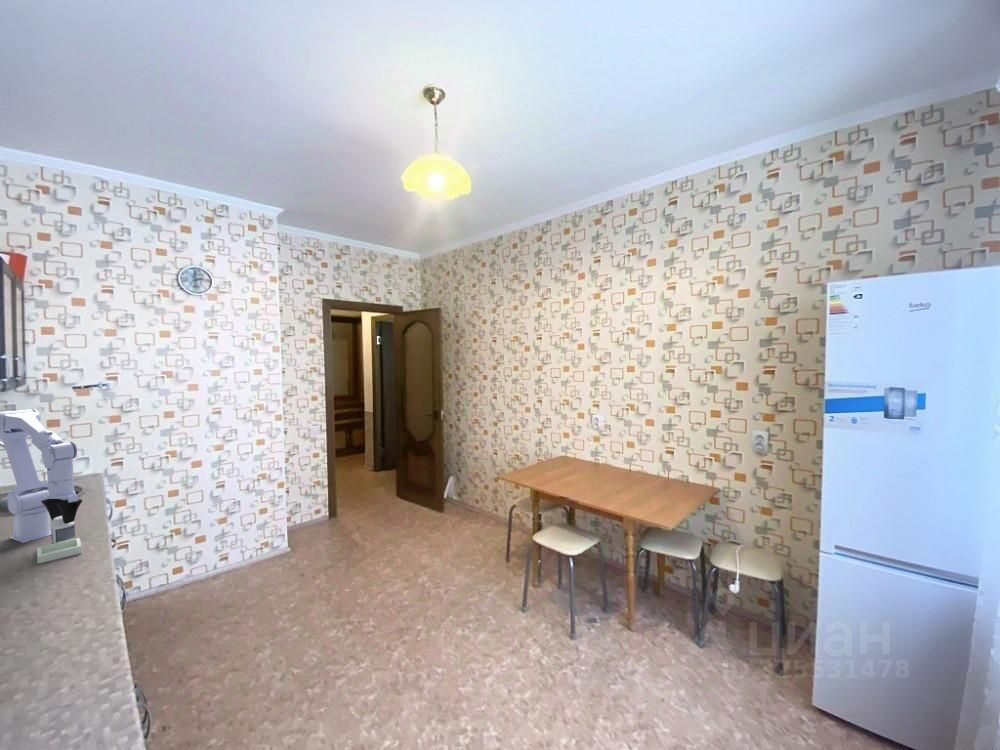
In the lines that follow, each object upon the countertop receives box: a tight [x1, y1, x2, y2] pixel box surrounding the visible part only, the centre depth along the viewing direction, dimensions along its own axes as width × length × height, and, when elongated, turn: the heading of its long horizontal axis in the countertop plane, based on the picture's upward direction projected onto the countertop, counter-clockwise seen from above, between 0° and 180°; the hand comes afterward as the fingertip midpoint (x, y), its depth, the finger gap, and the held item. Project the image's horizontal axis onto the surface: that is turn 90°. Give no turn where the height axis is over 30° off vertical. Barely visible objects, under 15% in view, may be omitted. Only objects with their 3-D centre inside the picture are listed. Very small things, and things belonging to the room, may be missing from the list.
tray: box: [36, 537, 83, 564], centre depth 124 cm, size 9×9×2 cm
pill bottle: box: [50, 516, 76, 544], centre depth 132 cm, size 5×5×9 cm
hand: (62, 520), depth 131 cm, fingers open, 7 cm apart
